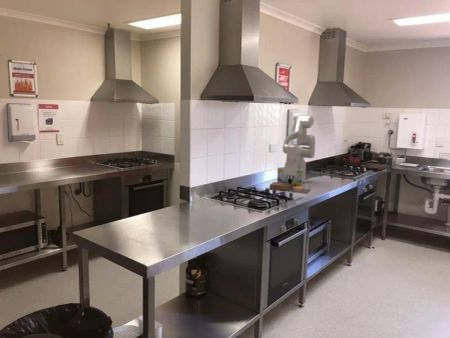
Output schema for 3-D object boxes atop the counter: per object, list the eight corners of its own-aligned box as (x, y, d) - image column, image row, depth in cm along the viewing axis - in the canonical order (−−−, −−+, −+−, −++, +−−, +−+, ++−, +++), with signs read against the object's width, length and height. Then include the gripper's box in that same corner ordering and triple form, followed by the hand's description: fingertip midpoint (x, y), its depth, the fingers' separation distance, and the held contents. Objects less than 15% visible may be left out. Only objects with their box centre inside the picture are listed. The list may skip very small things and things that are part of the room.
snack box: (276, 185, 315) (277, 167, 313) (278, 184, 320) (279, 166, 317) (301, 187, 305) (301, 169, 303) (302, 186, 310) (303, 168, 308)
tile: (303, 186, 294) (303, 189, 295) (296, 185, 296) (296, 188, 297) (301, 188, 286) (301, 191, 286) (294, 187, 288) (293, 190, 289)
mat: (294, 188, 301) (294, 187, 301) (310, 189, 296) (310, 189, 296) (290, 191, 286) (290, 191, 286) (307, 193, 281) (307, 193, 281)
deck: (273, 186, 306) (274, 181, 306) (293, 188, 300) (293, 183, 300) (269, 189, 293) (269, 184, 293) (289, 191, 287) (289, 186, 287)
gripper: (301, 161, 292) (300, 183, 294) (282, 159, 297) (281, 182, 300) (299, 162, 285) (298, 185, 287) (280, 160, 290) (279, 183, 293)
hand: (289, 183), depth 294 cm, fingers closed
